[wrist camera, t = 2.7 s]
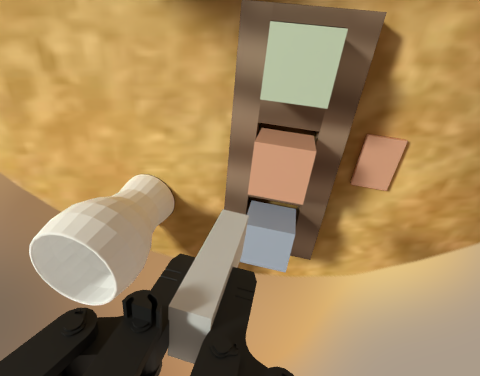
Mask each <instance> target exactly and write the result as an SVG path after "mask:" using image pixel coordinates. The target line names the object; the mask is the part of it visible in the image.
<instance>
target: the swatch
mask: <svg viewBox="0 0 480 376" xmlns="http://www.w3.org/2000/svg"><path fill="white" fill-rule="evenodd" d="M407 142H408V141H407V140H405V139H399V138H392V137H385V136H378V135H372V134H367V135H366V138H365V141H364V144H363V147H362V149H361V152H360V155H359V158H358V161H357V164H356V167H355V170H354V173H353V176H352V179H351V181H350V183H351V185H356V186H362V187H368V188H373V189H379V190H385V191H387V189H388V186H389V184H390V182H391V179H392V177H393V175H394V172H395V170H396V168H397V165H398V163H399V161H400V158H401V156H402V154H403V151H404V149H405V147H406V144H407Z"/></svg>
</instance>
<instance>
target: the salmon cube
mask: <svg viewBox="0 0 480 376" xmlns="http://www.w3.org/2000/svg"><path fill="white" fill-rule="evenodd" d="M315 156H316V146H315V140H314V136H312V135H306V134H299V133H293V132H286V131H280V130H273V129H267V128H261V130H260V132H259V134H258V136H257V138H256V140H255V142H254V150H253V157H252V165H251V173H250V180H249V188H248V194H249V195H254V196H259V197H264V198H270V199H275V200H280V201H285V202H291V203H296V204H301V205H303V202H304V199H305V195H306V191H307V187H308V183H309V179H310V175H311V171H312V167H313V163H314V159H315Z"/></svg>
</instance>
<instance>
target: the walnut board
mask: <svg viewBox="0 0 480 376" xmlns="http://www.w3.org/2000/svg"><path fill="white" fill-rule="evenodd" d="M386 13H387V12H378V11H366V10H355V9H343V8H332V7H321V6H309V5H298V4H286V3H275V2H263V1H252V0H242V3H241V15H240V27H239V39H238V51H237V63H236V75H235V87H234V99H233V111H232V123H231V135H230V147H229V159H228V171H227V183H226V195H225V207H224V210H228V211H232V212H236V213H240V214H245V215H247V213H248V210H249V204H250V197H255V198H260V199H266V200H271V201H276V202H281V203H287V204H292V205H297V206H298V208H297V212H296V226H295V238H294V241H293V245H292V249H291V253H290V255H291V256H295V257H300V258H304V259H309V260H310V258H311V255H312V252H313V249H314V245H315V242H316V239H317V236H318V232H319V229H320V226H321V223H322V220H323V216H324V213H325V210H326V207H327V203H328V200H329V197H330V194H331V190H332V187H333V184H334V181H335V178H336V174H337V171H338V168H339V165H340V161H341V158H342V155H343V152H344V148H345V145H346V142H347V139H348V136H349V132H350V129H351V126H352V123H353V119H354V116H355V113H356V110H357V106H358V103H359V100H360V97H361V94H362V90H363V87H364V84H365V81H366V77H367V74H368V71H369V68H370V64H371V61H372V58H373V55H374V52H375V48H376V45H377V42H378V39H379V35H380V32H381V29H382V26H383V22H384V19H385V16H386ZM270 21H274V22H284V23H294V24H305V25H315V26H325V27H336V28H346V29H348V31H347V35H346V38H345V42H344V46H343V50H342V54H341V58H340V62H339V66H338V70H337V74H336V77H335V81H334V85H333V89H332V93H331V97H330V101H329V105H328V109H326V108H319V107H311V106H304V105H297V104H290V103H283V102H275V101H268V100H261V99H260V96H261V89H262V81H263V74H264V66H265V58H266V51H267V43H268V36H269V28H270ZM261 123H266V124H272V125H279V126H286V127H292V128H299V129H305V130H312V131H316V135H315V139H314V140H315V146H316V156H315V159H314V163H313V167H312V171H311V175H310V179H309V183H308V187H307V191H306V195H305V199H304V202H303V205H301V204H296V203H291V202H285V201H280V200H275V199H270V198H264V197H259V196H254V195H249V194H248V188H249V180H250V173H251V165H252V157H253V150H254V142H255V140H256V138H257V136H258V134H259V131H260V124H261Z"/></svg>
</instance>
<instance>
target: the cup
mask: <svg viewBox="0 0 480 376" xmlns="http://www.w3.org/2000/svg"><path fill="white" fill-rule="evenodd" d="M173 209H174V198H173V195H172V193H171V191H170V189H169V188H168V187H167V185H166V184H164V183H163V182H162V181H161V180H159V179H158V178H156V177H154V176H150V175H142V174H141V175H137V176H134V177H133V178H131V179H130V180H129V181H128V182H127V183H126V184H125V185H124V187H123V188H122V189H121V190H120V192H118V193H116V194H114V195H113V196H111V197H98V198H94V199H90V200H87V201H83V202H80V203H77V204H73V205H72V206H70V207H69V208H67V209H66V210H64V211H63V212H61V213H60V214H58V215H56V216H55V217H54V218H52V219H51V220H50V221H49V222H48V223H47V224H46V225H45V226H44V227H43V228H42V230H41V231H40V232H39V233H38V234H37V235H36V236H35V237H34V239H33V240H32V242H31V244H30V249H29V254H30V258H31V261H32V264H33V266H34V267H35V269H36V271H37V272H38V274H39V275H40V276H41V277H42V279H43V280H44V281H45V282H46V283H47V284H49V285H50V286H51V287H52V288H53V289H54V290H56V291H57V292H59V293H60V294H62V295H64V296H66V297H67V298H69V299H71V300H73V301H77V302H79V303H82V304H87V305H103V304H106V303H108V302H110V301H112V300H113V299H114V298H115V297H116V296H117V295H119V294H120V293H121V292H122V291H123V290H125V289H126V288H127V287H128V286H129V285H130V284H131V283H132V282H133V281H134V280H135V279H136V277H137V276H138V275H139V273H140V272H141V270H142V269H143V268H144V265H145V263H146V260H147V257H148V254H149V251H150V248H151V241H152V233H153V232H154V230H155V228H156V226H158V225H159V224H160V223H162V222H163V221H164V220H165V219H166V218H168V217H169V216H170V214H171V213H172V212H173Z"/></svg>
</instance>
